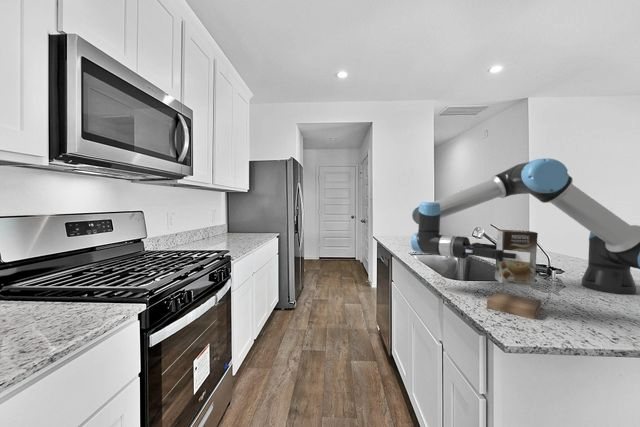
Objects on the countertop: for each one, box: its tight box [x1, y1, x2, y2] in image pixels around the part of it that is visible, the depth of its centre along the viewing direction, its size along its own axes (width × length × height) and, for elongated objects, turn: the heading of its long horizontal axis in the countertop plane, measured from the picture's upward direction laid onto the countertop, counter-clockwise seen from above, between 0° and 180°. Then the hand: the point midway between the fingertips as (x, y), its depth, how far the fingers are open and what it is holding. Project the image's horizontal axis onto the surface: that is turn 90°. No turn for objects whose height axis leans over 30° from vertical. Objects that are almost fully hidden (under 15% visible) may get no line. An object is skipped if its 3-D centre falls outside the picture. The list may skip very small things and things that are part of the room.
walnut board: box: [486, 291, 542, 320], centre depth 91 cm, size 12×12×2 cm
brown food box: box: [494, 229, 539, 287], centre depth 91 cm, size 9×6×16 cm
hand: (533, 255), depth 87 cm, fingers closed on brown food box, 9 cm apart
